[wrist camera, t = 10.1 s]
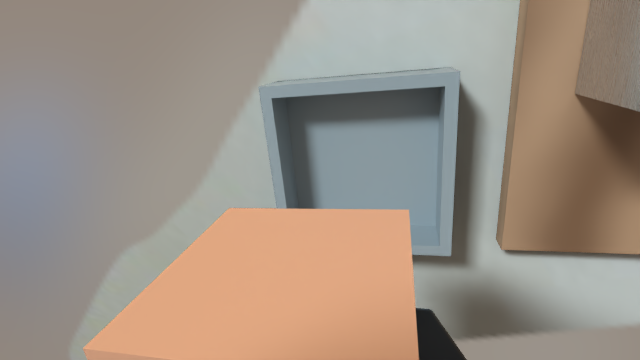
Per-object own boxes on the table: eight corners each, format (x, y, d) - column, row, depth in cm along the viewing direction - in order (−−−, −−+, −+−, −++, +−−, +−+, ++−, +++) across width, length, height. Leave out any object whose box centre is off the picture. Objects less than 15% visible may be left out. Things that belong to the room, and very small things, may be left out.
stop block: (255, 342, 9) (163, 534, 6) (229, 208, 8) (82, 349, 4) (408, 357, 8) (417, 601, 5) (409, 209, 7) (421, 390, 3)
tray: (296, 225, 20) (282, 249, 17) (277, 81, 17) (258, 87, 14) (444, 229, 18) (451, 256, 15) (451, 67, 15) (460, 71, 13)
